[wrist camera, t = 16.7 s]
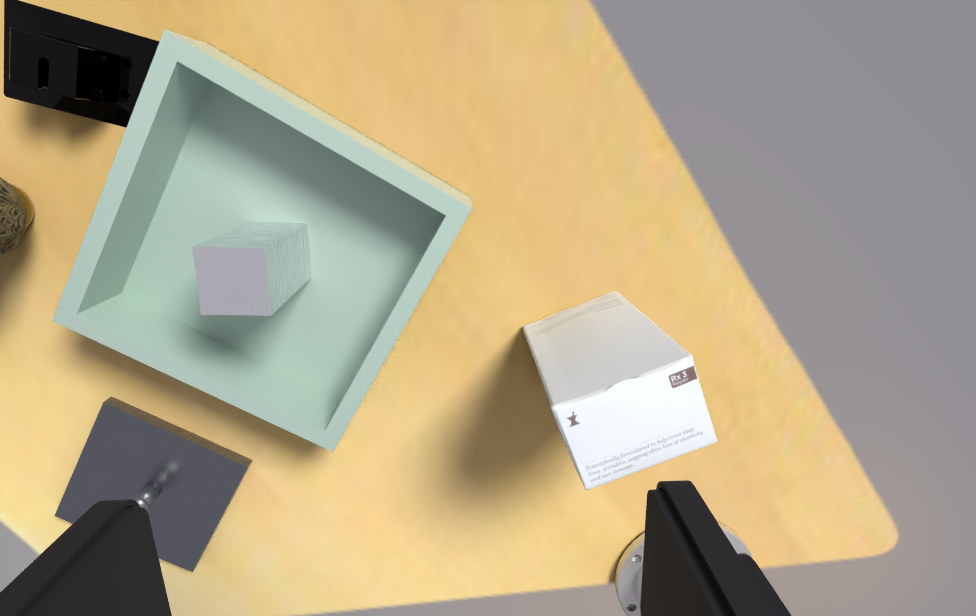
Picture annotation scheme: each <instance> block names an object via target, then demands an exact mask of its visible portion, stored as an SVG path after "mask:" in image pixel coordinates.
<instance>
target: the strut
mask: <svg viewBox="0 0 976 616" xmlns="http://www.w3.org/2000/svg"><path fill="white" fill-rule="evenodd" d="M192 250H193V258H194V265H195V273H196V280H197V288H198V296H199V303H200V311H201V315H255V316H271V315H272V314H273V313H274V312H275V311H276V310H277V309H279V308H280V307H281V306H282V305H283V304H284V303H285V302H286V301H287V300H288V299H289V298H290V297H291V296H292V295H293V294H294V293H295V292H296V291H298V290H299V289H300V288H301V287H302V286H303V285H304V284H305V283H306V282H307V281H308V280H309V279H310V278H311V262H310V247H309V232H308V223H288V222H249V223H247V224H244V225H242V226H240V227H237V228H235V229H233V230H230V231H228V232H225V233H223V234H221V235H218V236H216V237H214V238H211V239H209V240H207V241H204V242H202V243H200V244H197V245H195V246H193V247H192Z"/></svg>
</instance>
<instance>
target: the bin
mask: <svg viewBox="0 0 976 616" xmlns="http://www.w3.org/2000/svg"><path fill="white" fill-rule="evenodd" d="M471 210H472V199H471V197H469V196H468V195H466V194H464V193H463V192H461V191H459V190H458V189H456V188H454V187H452V186H451V185H449V184H447V183H446V182H444V181H442V180H440V179H439V178H437V177H435V176H434V175H432V174H430V173H429V172H427V171H425V170H423V169H422V168H420V167H418V166H417V165H415V164H413V163H412V162H410V161H408V160H406V159H405V158H403V157H401V156H400V155H398V154H396V153H394V152H393V151H391V150H389V149H388V148H386V147H384V146H383V145H381V144H379V143H377V142H376V141H374V140H372V139H371V138H369V137H367V136H366V135H364V134H362V133H360V132H359V131H357V130H355V129H354V128H352V127H350V126H348V125H347V124H345V123H343V122H342V121H340V120H338V119H337V118H335V117H333V116H331V115H330V114H328V113H326V112H325V111H323V110H321V109H320V108H318V107H316V106H314V105H313V104H311V103H309V102H308V101H306V100H304V99H303V98H301V97H299V96H297V95H296V94H294V93H292V92H291V91H289V90H287V89H285V88H284V87H282V86H280V85H279V84H277V83H275V82H274V81H272V80H270V79H268V78H267V77H265V76H263V75H262V74H260V73H258V72H257V71H255V70H253V69H251V68H250V67H248V66H246V65H245V64H243V63H241V62H239V61H238V60H236V59H234V58H233V57H231V56H229V55H228V54H226V53H224V52H222V51H221V50H219V49H217V48H216V47H214V46H212V45H210V44H207V43H204V42H201V41H198V40H195V39H192V38H189V37H186V36H183V35H180V34H177V33H174V32H171V31H168V30H165V29H164V32H163V35H162V37H161V40H160V42H159V45H158V48H157V50H156V53H155V55H154V58H153V61H152V63H151V66H150V68H149V71H148V73H147V76H146V79H145V81H144V84H143V86H142V89H141V92H140V94H139V97H138V99H137V102H136V105H135V107H134V110H133V112H132V115H131V118H130V120H129V123H128V125H127V128H126V131H125V133H124V136H123V138H122V141H121V144H120V146H119V149H118V151H117V154H116V157H115V159H114V162H113V164H112V167H111V170H110V172H109V175H108V177H107V180H106V183H105V185H104V188H103V190H102V193H101V195H100V198H99V201H98V203H97V206H96V208H95V211H94V214H93V216H92V219H91V221H90V224H89V227H88V229H87V232H86V234H85V237H84V240H83V242H82V245H81V247H80V250H79V253H78V255H77V258H76V260H75V263H74V266H73V268H72V271H71V273H70V276H69V279H68V281H67V284H66V286H65V289H64V292H63V294H62V297H61V299H60V302H59V305H58V307H57V310H56V312H55V315H54V318H53V320H52V321H54V322H56V323H58V324H60V325H62V326H64V327H66V328H68V329H71V330H73V331H75V332H77V333H79V334H81V335H83V336H86V337H88V338H90V339H92V340H94V341H96V342H98V343H101V344H103V345H105V346H107V347H109V348H111V349H113V350H116V351H118V352H120V353H122V354H124V355H126V356H128V357H131V358H133V359H135V360H137V361H139V362H141V363H143V364H146V365H148V366H150V367H152V368H154V369H156V370H158V371H161V372H163V373H165V374H167V375H169V376H171V377H173V378H175V379H178V380H180V381H182V382H184V383H186V384H188V385H190V386H193V387H195V388H197V389H199V390H201V391H203V392H205V393H208V394H210V395H212V396H214V397H216V398H218V399H220V400H223V401H225V402H227V403H229V404H231V405H233V406H235V407H238V408H240V409H242V410H244V411H246V412H248V413H250V414H253V415H255V416H257V417H259V418H261V419H263V420H265V421H268V422H270V423H272V424H274V425H276V426H278V427H280V428H282V429H285V430H287V431H289V432H291V433H293V434H295V435H297V436H300V437H302V438H304V439H306V440H308V441H310V442H312V443H315V444H317V445H319V446H321V447H323V448H325V449H327V450H330V451H332V452H333V451H334V449H335V447H336V445H337V444H338V442H339V440H340V438H341V437H342V435H343V433H344V431H345V430H346V428H347V426H348V424H349V423H350V421H351V419H352V417H353V416H354V414H355V412H356V410H357V409H358V407H359V405H360V403H361V402H362V400H363V398H364V396H365V395H366V393H367V391H368V389H369V388H370V386H371V384H372V382H373V381H374V379H375V377H376V376H377V374H378V372H379V370H380V369H381V367H382V365H383V363H384V362H385V360H386V358H387V356H388V355H389V353H390V351H391V349H392V348H393V346H394V344H395V342H396V341H397V339H398V337H399V335H400V334H401V332H402V330H403V328H404V327H405V325H406V323H407V321H408V320H409V318H410V316H411V314H412V313H413V311H414V309H415V307H416V306H417V304H418V302H419V300H420V299H421V297H422V295H423V294H424V292H425V290H426V288H427V287H428V285H429V283H430V281H431V280H432V278H433V276H434V274H435V273H436V271H437V269H438V267H439V266H440V264H441V262H442V260H443V259H444V257H445V255H446V253H447V252H448V250H449V248H450V246H451V245H452V243H453V241H454V239H455V238H456V236H457V234H458V232H459V231H460V229H461V227H462V225H463V224H464V222H465V220H466V218H467V217H468V215H469V213H470V212H471ZM249 222H288V223H308V232H309V247H310V262H311V278H310V279H309V280H308V281H307V282H306V283H305V284H304V285H303V286H302V287H301V288H300V289H299V290H298V291H296V292H295V293H294V294H293V295H292V296H291V297H290V298H289V299H288V300H287V301H286V302H285V303H284V304H283V305H282V306H281V307H280V308H279V309H277V310H276V311H275V312H274V313H273V314H272V315H271V316H255V315H201V311H200V303H199V296H198V288H197V280H196V273H195V265H194V258H193V250H192V247H193V246H195V245H197V244H200V243H202V242H204V241H207V240H209V239H211V238H214V237H216V236H218V235H221V234H223V233H225V232H228V231H230V230H233V229H235V228H237V227H240V226H242V225H244V224H247V223H249Z"/></svg>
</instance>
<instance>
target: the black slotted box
mask: <svg viewBox="0 0 976 616" xmlns="http://www.w3.org/2000/svg"><path fill="white" fill-rule="evenodd" d="M158 45H159V41H156V40H152V39H149V38H145V37H142V36H138V35H135V34H132V33H128V32H125V31H121V30H118V29H114V28H111V27H108V26H104V25H101V24H97V23H94V22H90V21H87V20H84V19H80V18H77V17H73V16H70V15H66V14H63V13H60V12H56V11H53V10H49V9H46V8H42V7H39V6H36V5H32V4H29V3H25V2H22V1H19V0H4V95H5V96H6V97H9V98H13V99H17V100H21V101H25V102H29V103H33V104H37V105H41V106H44V107H48V108H52V109H56V110H60V111H64V112H68V113H72V114H76V115H80V116H84V117H88V118H91V119H95V120H99V121H103V122H107V123H111V124H115V125H119V126H123V127H127V125H128V123H129V120H130V118H131V115H132V112H133V110H134V107H135V105H136V102H137V99H138V97H139V94H140V92H141V89H142V86H143V84H144V81H145V79H146V76H147V73H148V71H149V68H150V66H151V63H152V61H153V58H154V55H155V53H156V50H157V48H158Z"/></svg>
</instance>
